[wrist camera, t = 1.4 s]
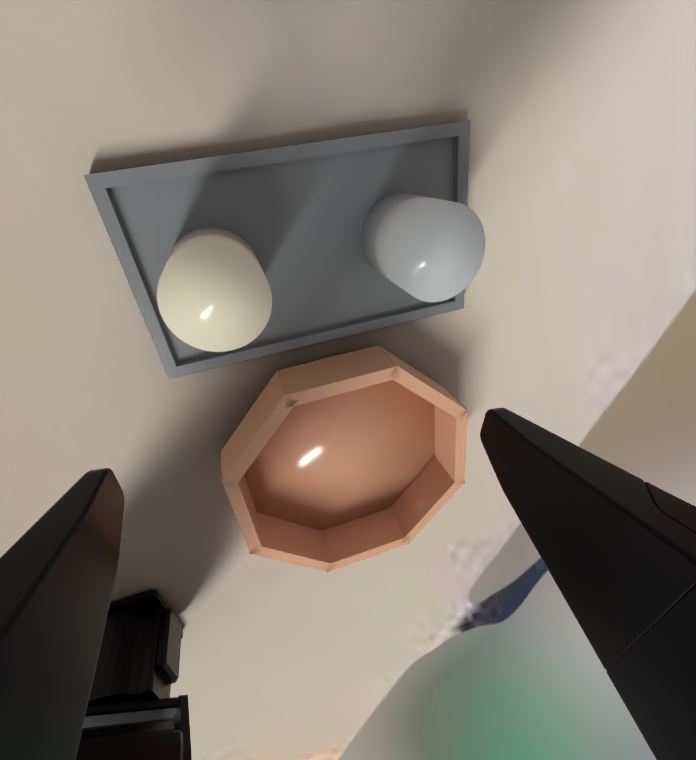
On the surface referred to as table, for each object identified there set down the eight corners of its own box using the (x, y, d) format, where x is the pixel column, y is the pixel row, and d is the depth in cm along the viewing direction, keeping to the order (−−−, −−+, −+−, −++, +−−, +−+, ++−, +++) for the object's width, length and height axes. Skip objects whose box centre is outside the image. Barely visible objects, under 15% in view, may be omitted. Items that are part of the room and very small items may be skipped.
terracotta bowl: (260, 552, 31) (265, 594, 28) (197, 384, 23) (195, 418, 20) (441, 491, 34) (463, 524, 31) (441, 324, 26) (471, 346, 23)
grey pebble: (364, 283, 23) (399, 311, 19) (356, 200, 20) (393, 210, 16) (434, 268, 24) (482, 291, 19) (433, 186, 21) (487, 193, 17)
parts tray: (170, 372, 22) (168, 378, 22) (88, 174, 17) (83, 174, 16) (457, 304, 26) (463, 308, 25) (461, 121, 20) (469, 120, 20)
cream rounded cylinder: (185, 321, 21) (179, 362, 17) (154, 235, 19) (138, 257, 14) (268, 304, 22) (281, 338, 17) (248, 219, 19) (258, 235, 15)
